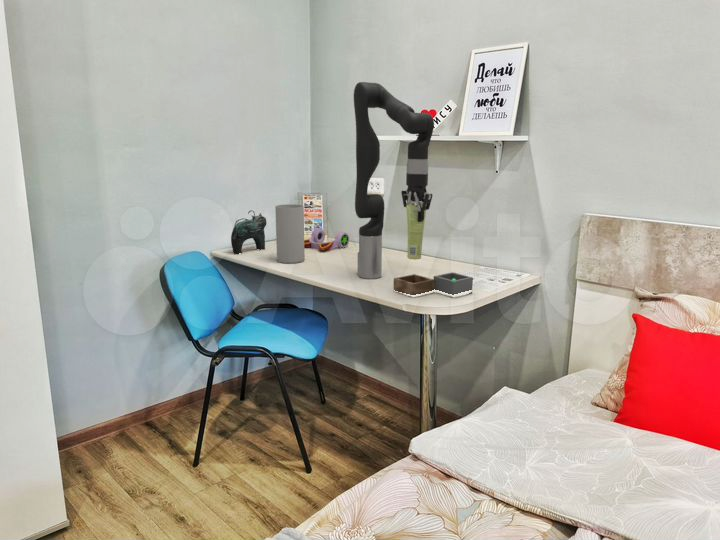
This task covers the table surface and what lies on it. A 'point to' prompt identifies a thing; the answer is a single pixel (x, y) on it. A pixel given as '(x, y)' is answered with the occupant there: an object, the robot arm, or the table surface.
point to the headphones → (319, 237)
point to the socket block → (453, 283)
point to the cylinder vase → (290, 233)
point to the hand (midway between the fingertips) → (415, 220)
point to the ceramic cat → (248, 233)
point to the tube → (414, 232)
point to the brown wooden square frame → (413, 284)
